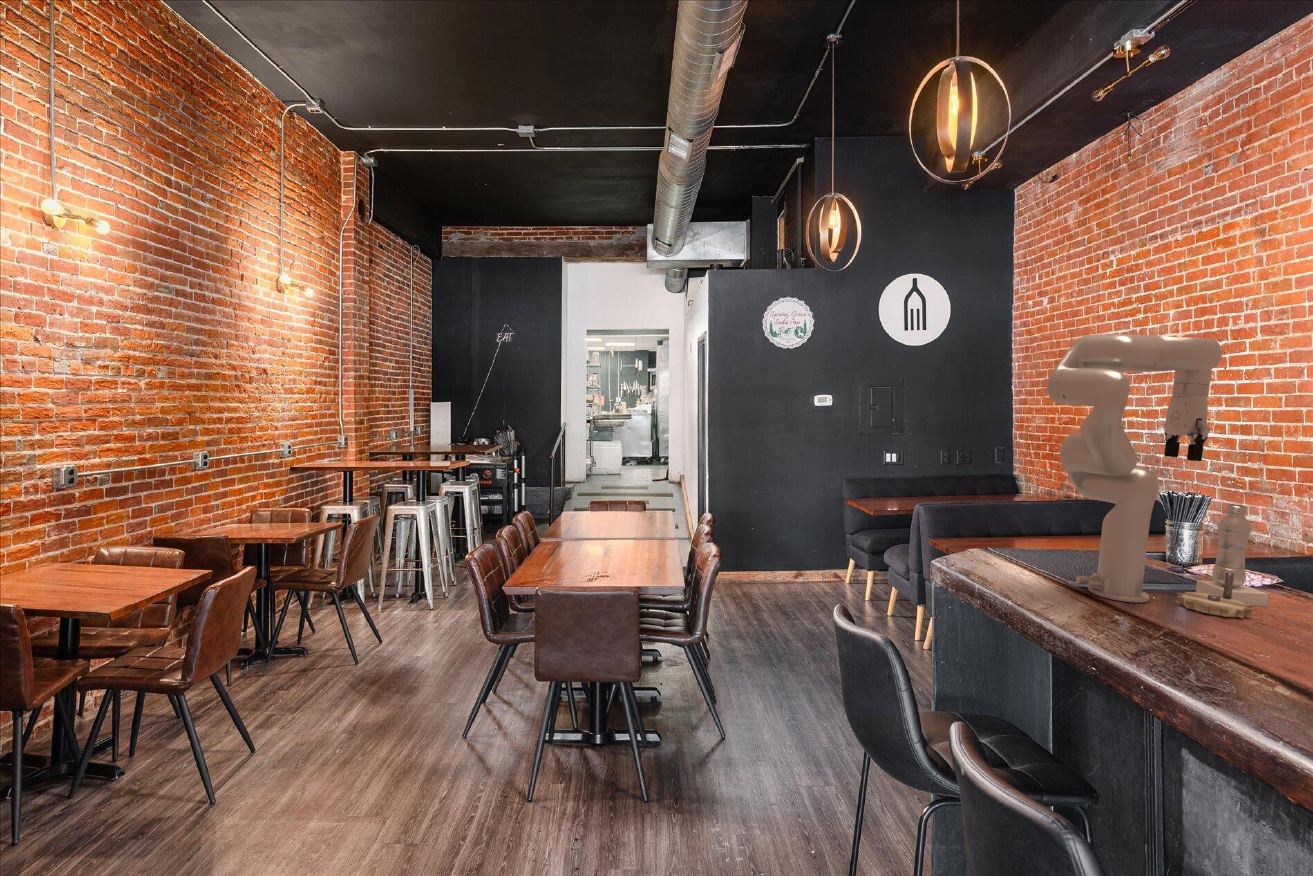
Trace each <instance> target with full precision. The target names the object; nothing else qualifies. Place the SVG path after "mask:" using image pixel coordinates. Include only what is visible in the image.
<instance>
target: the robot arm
mask: <svg viewBox="0 0 1313 876" xmlns="http://www.w3.org/2000/svg"><path fill="white" fill-rule="evenodd" d="M1222 356H1223V349H1222V346H1221V344H1220V343H1219V342H1218V341H1217V340H1216V339H1214V338H1210V337H1209V338H1208V337H1207V338H1205V337H1182V336H1181V337H1180V336H1171V335H1168V336H1167V335H1153V334H1128V333H1127V334H1125V333H1124V334H1122V333H1121V334H1120V333H1119V334H1115V333H1114V334H1112V333H1111V334H1087V335H1083V336H1082V337H1080V338H1079V339H1077V340H1076V341H1075V342H1074V343H1073V344H1072V345H1071V346H1070V348H1068V350H1067V351H1066V352H1065V354H1064V355H1063V356H1062V358H1061V359H1060V360H1059V362H1058V363H1057V364H1056V365H1055V367H1054V368H1053V370H1052V371H1051V372H1050V374H1049V377H1048V379H1047V382H1046V392H1047V396H1048V397H1049V398H1050V400H1051V401H1052V402H1054V403H1057V404H1061V405H1069V406H1070V405H1071V406H1083V407H1085V406H1086V407H1088V406H1089V407H1093V408H1092V410H1091V412H1090V413H1089V414H1088V415H1087V416H1086V417H1085V418H1084V419H1083V420H1082V422H1081V424H1080V427H1079V432H1073V433H1070V434H1068V435H1067V436H1066V437H1064V439H1063V441H1062V442H1061V446H1060V450H1059V458H1060V462H1061V465H1062V467H1063V469H1064V472H1066V475H1068V478H1069V479H1070V481H1071V482H1072V484H1073V486H1074V488H1075V489H1076V491H1077V492H1078V493H1079V494H1080V495H1081V496H1083V497H1085V498H1087V499H1090V500H1095V501H1100V502H1105V503H1111V504H1115V505H1114V507H1112V509H1110V510H1109V511H1108V512H1107V514H1106V515H1105V516H1104V518H1103V521H1102V526H1101V533H1100V534H1101V535H1100V536H1101V537H1100V543H1099V544H1100V545H1099V554H1098V565H1097V572H1092V575H1089V576H1083V575H1077V576H1076V577H1075V582H1076V584H1077V585H1087V587H1088V589H1087V590H1088V591H1089V592H1090V593H1091V594H1093V595H1095V596H1097V597H1101V598H1104V599H1108V600H1114V601H1118V602H1125V603H1134V604H1136V603H1137V604H1139V603H1146V602H1149V601H1150V595H1149V594H1148V593H1147V592H1145V591H1143V586H1144V585H1143V584H1144V577H1145V566H1146V558H1147V552H1148V551H1147V550H1148V540H1149V533H1150V531H1149V530H1150V524H1151V518H1152V512H1153V510H1154V509H1153V508H1154V505H1155V501H1156V499H1157V496H1158V493H1159V489H1160V481H1159V478H1158V475H1157V474H1156V473H1155V472H1153V470H1151V469H1148V468H1146V467H1143V466H1138V465H1137V463H1138V462H1137V461H1138V457H1137V453H1136V451H1135V449H1134V447H1133V445H1132V443H1131V440H1130V439H1129V437H1128V435H1127V433H1126V431H1125V429H1124V427H1123V423H1122V421H1123V420H1122V419H1123V417H1124V412H1125V409H1126V406H1127V402H1128V399H1129V395H1130V390H1131V387H1130V381H1129V378H1128V376H1127V375H1126V374H1124V373H1123V372H1169V371H1170V372H1171V371H1174V377H1173V382H1172V383H1173V386H1172V393H1171V398H1170V399H1169V403H1168V408H1167V409H1166V410H1167V411H1166V417H1165V421H1164V425H1163V428H1164V429H1163V431H1164V432H1163V433H1164V437H1165V438H1164V441H1165V444H1164V452H1163V456H1164V457H1168V458H1178V457H1179V452H1180V444H1181V442H1180V439H1181V437H1183V436H1185V437H1186V436H1187V437H1188V439H1189V442H1190V443H1189V444H1187V445H1188V446H1187V455H1186V460H1187V461H1191V462H1202V460H1203V452H1204V446H1205V445H1206V441H1207V440H1208V436H1209V434H1210V432H1211V427H1209V425H1208V410H1209V407H1208V406H1209V405H1208V398H1209V394H1210V385H1211V378H1212V371H1213V369H1214V368H1215V367H1217V366H1218V365H1219V363H1220V362H1221V360H1222Z"/></svg>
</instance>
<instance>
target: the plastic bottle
mask: <svg viewBox="0 0 1313 876" xmlns="http://www.w3.org/2000/svg"><path fill="white" fill-rule="evenodd" d="M1226 508H1227V509H1226V510H1225V511H1226V512H1227V513H1226V515H1224V516H1223V517H1222V518H1221V519H1220V520H1219V522H1218V523H1217V537H1218V538H1217V539H1218V540H1217V541H1218V543H1217V544H1218V545H1217V546H1218V547H1217V554H1216V559H1215V564H1214V566H1213V569H1212V572H1211V575H1212V579H1213V581H1215V582H1216V583H1219V584H1222V585H1224V583H1225V574H1226V572H1230V573H1234V581H1233V586H1242V585H1245V582H1246V579H1247V573H1246V552H1247V551H1246V550H1247V546H1248V542H1249V539H1250V536H1251V532H1252V527H1251V523H1250V522H1249V521H1248V519H1247V517H1246V516H1245V515H1247V509H1248V508H1247V505H1242V504H1233V503H1228V504H1227V507H1226Z"/></svg>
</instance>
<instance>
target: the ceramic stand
mask: <svg viewBox="0 0 1313 876" xmlns="http://www.w3.org/2000/svg"><path fill="white" fill-rule="evenodd" d="M1223 591H1224V585H1222V584H1219V583H1216V582H1215V581H1214V580H1201V579H1199V580H1198V579H1197V580H1196V588H1195V592H1197V593H1207V594H1213V595H1219V596H1223ZM1269 595H1270V594H1269V593H1266V592H1264V591H1261V590H1258V589H1257V588H1253V587H1250V586H1248V585H1245V584H1243V585H1242V586H1233V589H1232V597H1231V599H1234V600H1239V601H1241V602H1242V603H1244V604H1248V605H1251V607H1268V601H1269Z"/></svg>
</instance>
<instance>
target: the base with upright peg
mask: <svg viewBox="0 0 1313 876" xmlns="http://www.w3.org/2000/svg"><path fill="white" fill-rule="evenodd" d="M1233 581H1234V573H1230V572H1226V574H1225V583H1224V591H1223V596H1219V595H1213V594H1207V593H1197V592H1196V591H1195V592H1192V591H1184V592H1183V593H1181V592H1177V593H1176V598H1175V599H1176V604H1178V605H1182V606H1184V607H1185V608H1186V609H1191V610H1194V611H1197V612H1201V613H1203V614H1204V613H1205V614H1209V615H1215V616H1222V617H1227V618H1228V617H1231V618H1240V619H1242V618H1243V619H1244V618H1245V616H1247V617H1252V616H1253V608H1252V606H1251V605H1248V604H1244V603H1242V602H1241V601H1239V600H1234V599H1231V597H1232V589H1233Z"/></svg>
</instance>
